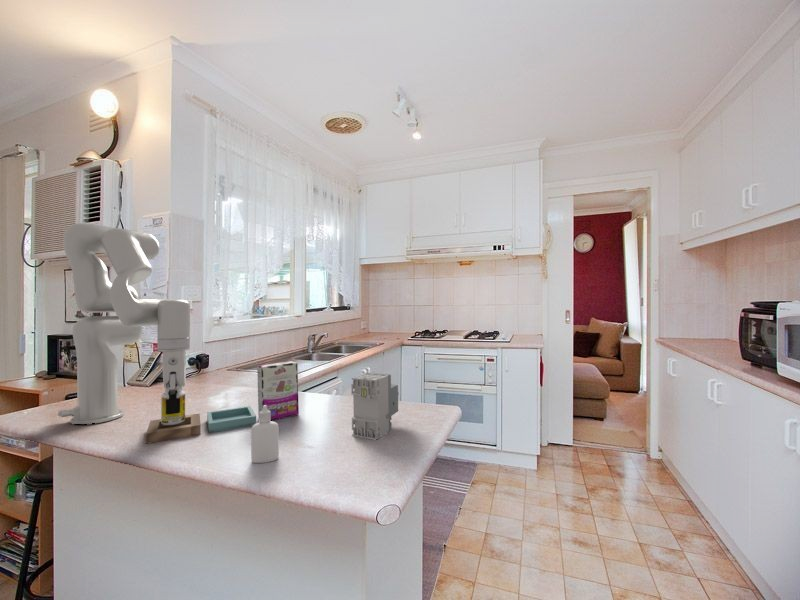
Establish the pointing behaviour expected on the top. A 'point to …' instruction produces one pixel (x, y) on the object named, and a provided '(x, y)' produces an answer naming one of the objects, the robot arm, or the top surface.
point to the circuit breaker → (373, 404)
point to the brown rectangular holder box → (173, 429)
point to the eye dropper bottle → (264, 438)
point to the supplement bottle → (177, 417)
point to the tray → (230, 419)
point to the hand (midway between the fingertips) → (173, 409)
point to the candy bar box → (278, 389)
